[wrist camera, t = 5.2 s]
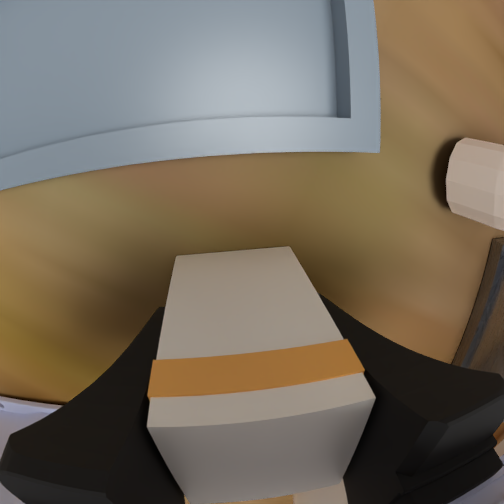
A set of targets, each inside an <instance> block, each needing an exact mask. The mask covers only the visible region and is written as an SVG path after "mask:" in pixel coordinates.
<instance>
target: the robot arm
mask: <svg viewBox="0 0 504 504" xmlns="http://www.w3.org/2000/svg"><path fill="white" fill-rule="evenodd" d="M317 293H318V292H317ZM318 295H319V297H320V299H321V300H322V302H323V304H324V305H325V307H326V309H327V311H328V312H329V314H330V316H331V318H332V319H333V321H334V323H335V325H336V326H337V328H338V330H339V332H340V333H341V335H342V337H343V339H348V341H349V343H350V345H351V346H352V348H353V350H354V352H355V353H356V355H357V357H358V359H359V360H360V362H361V364H362V366H363V367H364V369H365V371H364V377H365V378H366V380H367V382H368V384H369V386H370V388H371V389H372V391H373V393H374V395H375V397H376V399H375V402H374V404H373V407H372V410H371V412H370V415H369V418H368V420H367V423H366V425H365V428H364V430H363V433H362V435H361V438H360V440H359V442H358V445H357V447H356V449H355V452H354V454H353V456H352V458H351V461H350V463H349V465H348V467H347V469H346V471H345V473H344V476H343V482H344V486H345V491H346V496H347V501H348V504H504V455H502V456H501V457H499V456H498V455H497V453H496V452H495V450H494V447H495V446H496V445H497V441H496V439H495V438H494V436H493V433H494V432H495V431H496V430H497V428H498V427H499V426H500V424H501V423H502V422H503V420H504V379H503V378H502V377H501V375H500V374H499V373H492V372H485V371H479V370H473V369H468V368H464V367H460V366H456V365H452V364H448V363H445V362H442V361H438V360H435V359H433V358H430V357H427V356H424V355H422V354H419V353H417V352H414V351H412V350H409V349H407V348H405V347H403V346H401V345H399V344H397V343H395V342H393V341H391V340H389V339H387V338H385V337H383V336H382V335H380V334H378V333H377V332H375V331H373V330H371V329H370V328H368V327H367V326H365V325H363V324H362V323H360V322H359V321H357V320H356V319H354V318H353V317H351V316H350V315H349V314H347V313H346V312H344V311H343V310H342V309H340V308H339V307H337V306H336V305H335V304H333V303H332V302H331V301H329V300H328V299H326V298H325V297H324V296H322V295H321V294H319V293H318ZM164 313H165V307H159V308H158V309H157V310H156V312H155V313H154V314H153V315H152V317H151V318H150V319H149V321H148V322H147V324H146V325H145V326H144V328H143V329H142V330H141V331H140V333H139V334H138V335H137V337H136V338H135V339H134V340H133V342H132V343H131V344H130V345H129V347H128V348H127V349H126V350H125V351H124V352H123V353H122V355H121V356H120V357H119V358H118V359H117V360H116V361H115V362H114V364H113V365H112V366H111V367H110V368H109V369H108V370H107V371H106V372H105V373H103V374H102V375H101V376H100V377H99V378H98V379H97V380H96V381H95V382H94V383H92V384H91V385H90V386H89V387H87V388H86V389H85V390H84V391H82V392H81V393H80V394H78V395H77V396H76V397H75V398H73V399H72V400H71V401H69V402H68V403H66V404H65V405H63V406H62V405H53V404H45V403H38V402H31V401H24V400H18V399H12V398H7V397H2V396H0V504H185V499H184V493H183V491H182V490H181V488H180V486H179V485H178V483H177V482H176V480H175V478H174V476H173V475H172V473H171V471H170V470H169V468H168V466H167V464H166V462H165V461H164V459H163V457H162V455H161V453H160V452H159V450H158V448H157V446H156V444H155V442H154V440H153V438H152V436H151V434H150V432H149V430H148V428H147V421H148V413H149V406H150V401H149V398H148V396H147V395H148V388H149V382H150V375H151V369H152V363H153V360H156V358H157V352H158V346H159V340H160V334H161V329H162V323H163V318H164Z"/></svg>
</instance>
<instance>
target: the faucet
mask: <svg viewBox="0 0 504 504" xmlns="http://www.w3.org/2000/svg"><path fill="white" fill-rule="evenodd" d="M446 192H447V202H448V204H449V206H450V209H451V211H452V213H455V214H458V215H461V216H464V217H467V218H469V219H472V220H475V221H477V222H480V223H483V224H486V225H488V226H491V227H493V228H496V229H500V230H503V231H504V145H500V144H496V143H491V142H486V141H481V140H476V139H471V138H464V139H462V140H460V141H459V142H457V143H456V145H455V148H454V150H453V152H452V154H451V156H450V158H449V165H448V171H447V176H446Z"/></svg>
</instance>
